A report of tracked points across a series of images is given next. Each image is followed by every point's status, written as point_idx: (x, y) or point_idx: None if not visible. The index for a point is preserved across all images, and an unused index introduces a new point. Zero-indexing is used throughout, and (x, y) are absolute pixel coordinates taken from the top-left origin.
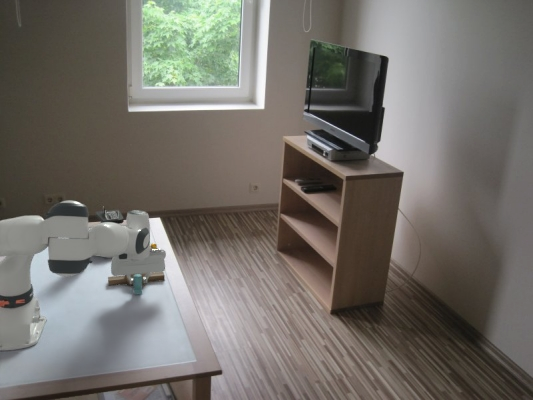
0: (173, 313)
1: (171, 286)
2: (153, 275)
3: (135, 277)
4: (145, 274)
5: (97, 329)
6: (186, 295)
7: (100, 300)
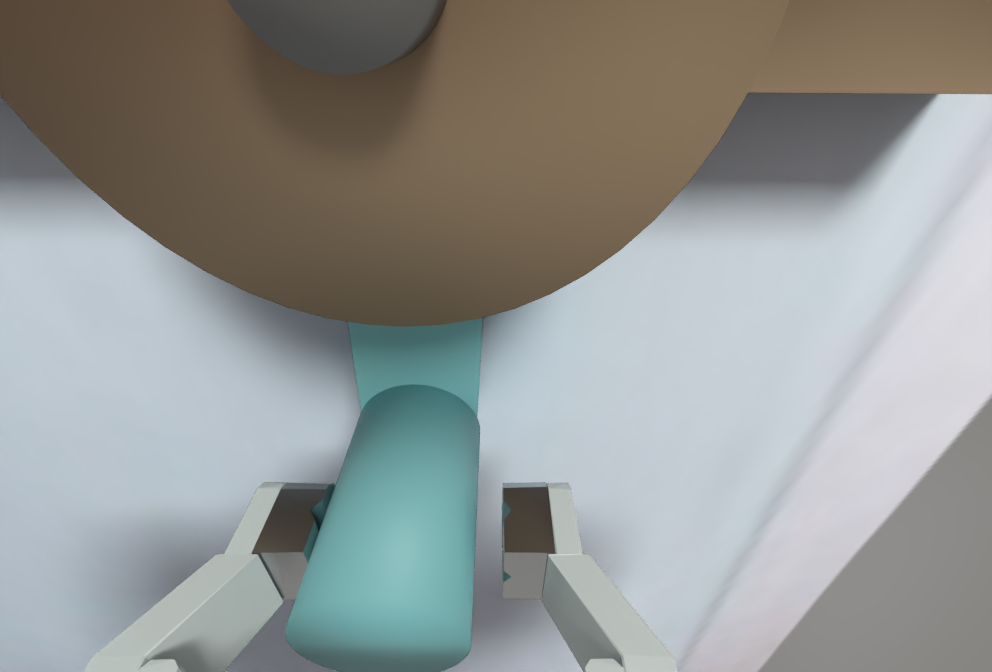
0: (660, 620)
1: (908, 298)
2: (828, 53)
3: (338, 663)
4: (614, 232)
5: None
6: (911, 483)
7: (24, 419)
